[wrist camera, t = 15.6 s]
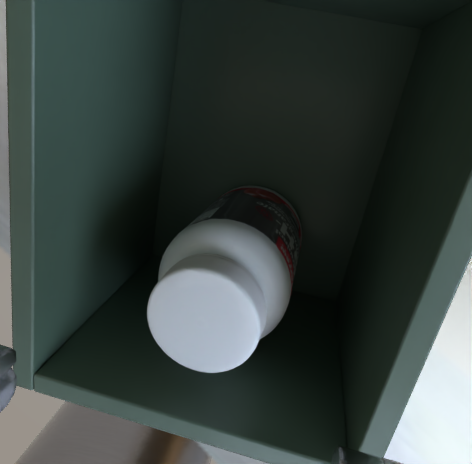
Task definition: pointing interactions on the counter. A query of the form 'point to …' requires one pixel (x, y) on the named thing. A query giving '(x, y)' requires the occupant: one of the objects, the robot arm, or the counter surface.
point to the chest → (230, 177)
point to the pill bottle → (226, 280)
